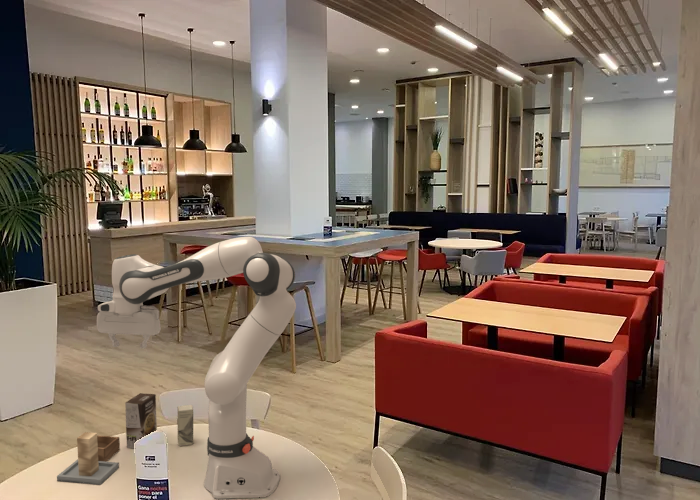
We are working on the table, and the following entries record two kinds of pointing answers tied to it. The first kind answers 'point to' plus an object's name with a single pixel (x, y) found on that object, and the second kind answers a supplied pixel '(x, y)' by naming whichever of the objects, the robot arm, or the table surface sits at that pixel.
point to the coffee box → (140, 417)
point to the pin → (87, 454)
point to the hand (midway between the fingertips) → (129, 347)
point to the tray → (97, 478)
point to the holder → (107, 447)
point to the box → (185, 425)
